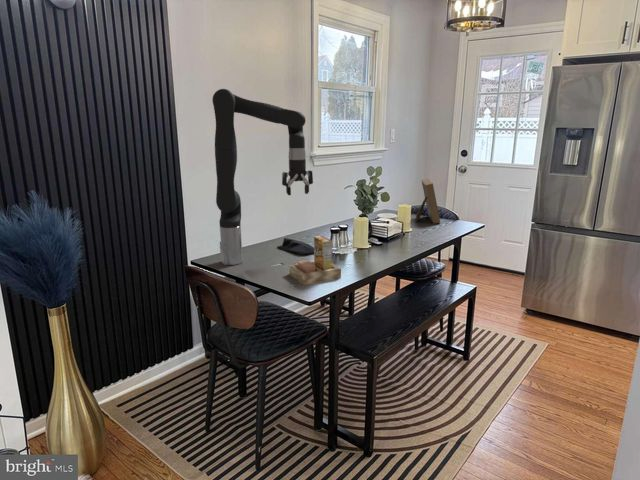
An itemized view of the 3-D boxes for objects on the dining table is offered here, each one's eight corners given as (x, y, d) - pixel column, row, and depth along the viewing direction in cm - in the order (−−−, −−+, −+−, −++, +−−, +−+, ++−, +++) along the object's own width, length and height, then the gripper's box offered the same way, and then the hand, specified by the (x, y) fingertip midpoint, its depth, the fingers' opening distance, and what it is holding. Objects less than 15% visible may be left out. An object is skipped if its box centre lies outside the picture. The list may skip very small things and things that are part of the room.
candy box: (313, 271, 186) (313, 236, 182) (322, 270, 188) (322, 235, 184) (323, 278, 179) (322, 241, 175) (332, 276, 181) (332, 240, 177)
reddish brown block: (306, 281, 176) (306, 266, 174) (297, 275, 183) (297, 261, 181) (315, 279, 178) (315, 265, 176) (306, 273, 184) (306, 259, 183)
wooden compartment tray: (303, 288, 173) (303, 275, 171) (289, 277, 185) (289, 264, 183) (340, 281, 180) (341, 268, 178) (324, 271, 192) (324, 259, 190)
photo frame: (435, 216, 295) (437, 178, 288) (440, 223, 274) (442, 183, 267) (412, 216, 296) (413, 178, 290) (415, 223, 276) (417, 183, 269)
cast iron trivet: (297, 258, 211) (297, 248, 210) (275, 247, 228) (275, 239, 227) (324, 253, 219) (324, 243, 218) (300, 243, 237) (300, 234, 235)
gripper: (285, 159, 192) (286, 197, 197) (315, 158, 198) (315, 194, 203) (279, 158, 199) (280, 194, 203) (308, 156, 205) (308, 192, 209)
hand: (297, 194), depth 203 cm, fingers open, 8 cm apart
